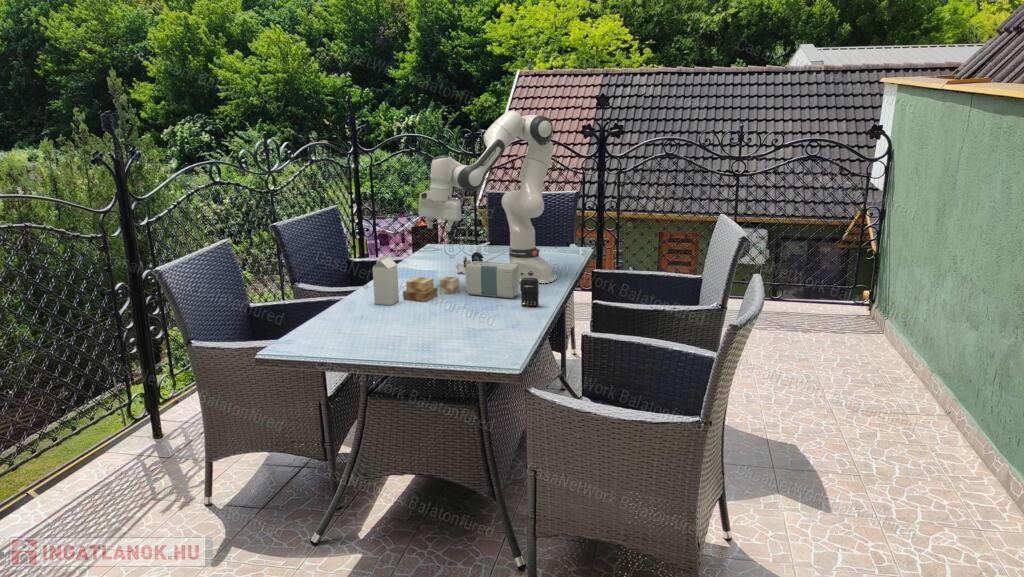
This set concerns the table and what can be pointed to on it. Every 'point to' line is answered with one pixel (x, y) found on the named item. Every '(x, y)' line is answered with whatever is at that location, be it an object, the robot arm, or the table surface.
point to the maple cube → (449, 285)
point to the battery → (530, 291)
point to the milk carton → (385, 281)
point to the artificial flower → (475, 257)
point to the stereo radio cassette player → (492, 278)
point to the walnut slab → (420, 295)
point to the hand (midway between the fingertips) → (439, 229)
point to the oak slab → (419, 284)
